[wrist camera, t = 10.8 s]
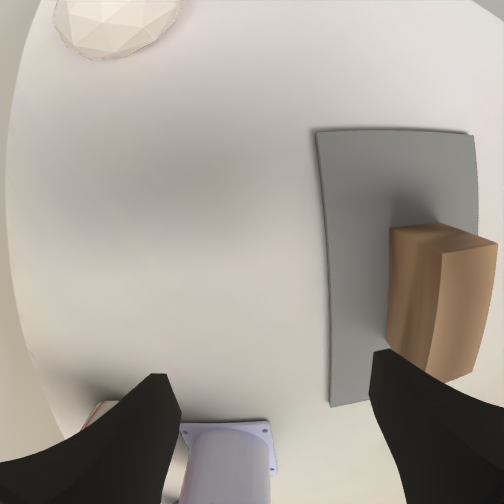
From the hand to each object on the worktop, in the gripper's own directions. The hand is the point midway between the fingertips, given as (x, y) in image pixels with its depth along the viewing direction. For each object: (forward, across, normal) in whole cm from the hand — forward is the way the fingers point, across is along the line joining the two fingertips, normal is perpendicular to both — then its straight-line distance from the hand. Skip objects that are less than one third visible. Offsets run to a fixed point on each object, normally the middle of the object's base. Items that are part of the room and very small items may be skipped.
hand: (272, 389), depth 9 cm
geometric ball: (+10, +6, -19) cm, 22 cm away
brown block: (+9, -10, +1) cm, 13 cm away
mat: (+9, -10, +1) cm, 14 cm away
